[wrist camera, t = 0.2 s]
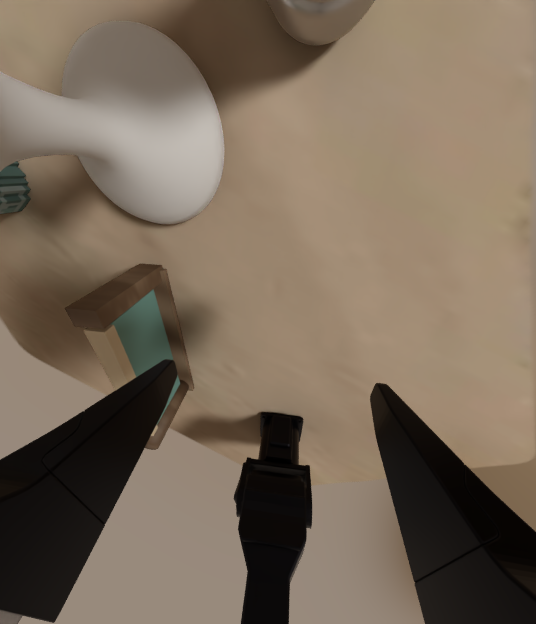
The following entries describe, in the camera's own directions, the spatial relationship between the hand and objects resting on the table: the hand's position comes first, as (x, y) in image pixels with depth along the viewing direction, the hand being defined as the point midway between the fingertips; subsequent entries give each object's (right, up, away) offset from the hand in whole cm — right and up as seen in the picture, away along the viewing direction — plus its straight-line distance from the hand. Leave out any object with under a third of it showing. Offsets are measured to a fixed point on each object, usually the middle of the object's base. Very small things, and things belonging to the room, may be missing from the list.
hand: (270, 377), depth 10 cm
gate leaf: (-13, -1, +17) cm, 21 cm away
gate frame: (-13, 0, +19) cm, 23 cm away
